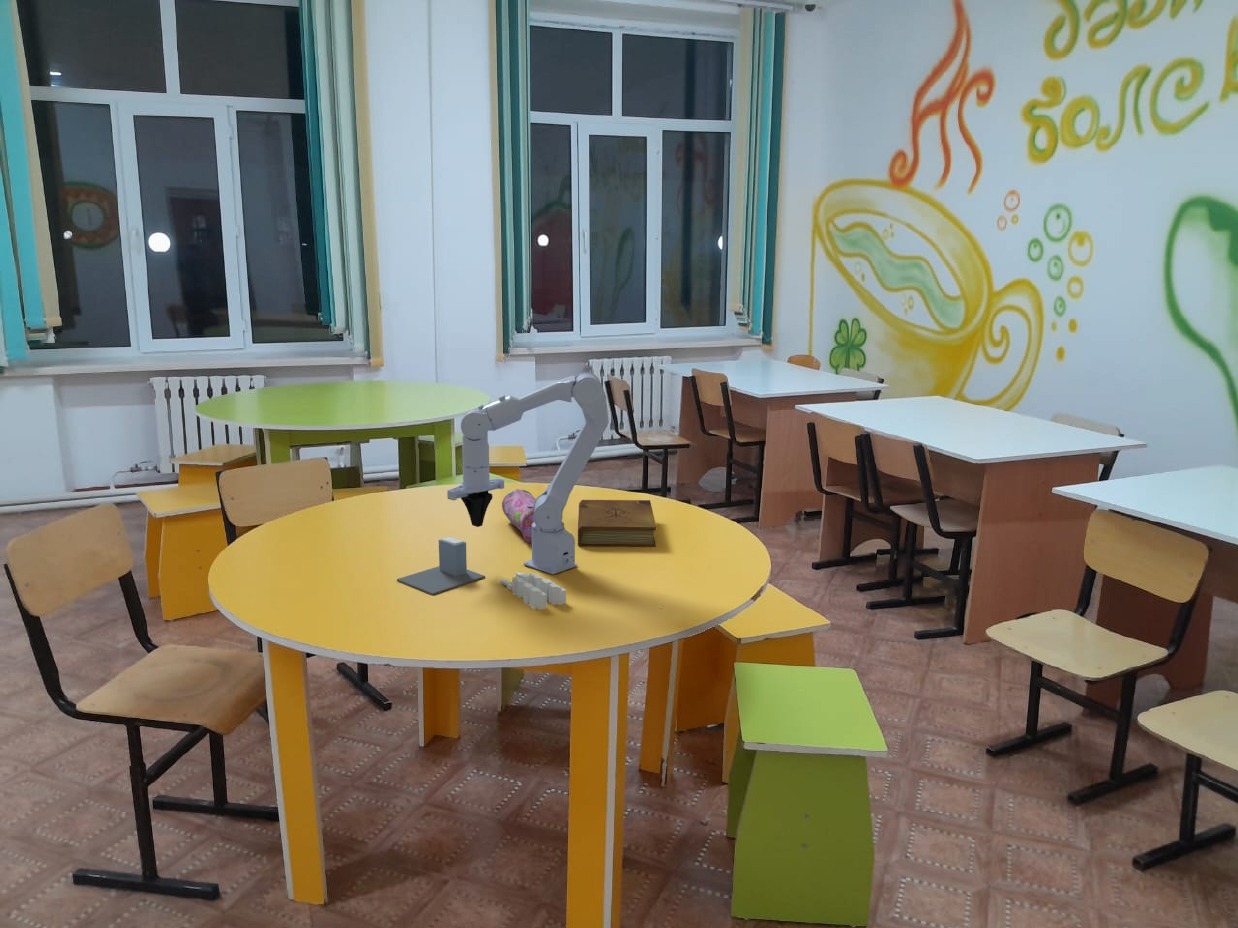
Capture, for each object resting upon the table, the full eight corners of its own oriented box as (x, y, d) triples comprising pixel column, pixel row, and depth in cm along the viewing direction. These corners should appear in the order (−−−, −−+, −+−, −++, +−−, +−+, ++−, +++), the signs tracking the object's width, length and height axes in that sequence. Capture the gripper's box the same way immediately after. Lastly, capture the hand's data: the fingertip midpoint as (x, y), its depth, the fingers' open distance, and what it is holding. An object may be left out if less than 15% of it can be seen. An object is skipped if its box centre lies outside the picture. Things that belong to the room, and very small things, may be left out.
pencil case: (557, 543, 218) (558, 507, 216) (521, 546, 215) (520, 510, 213) (535, 519, 237) (535, 485, 235) (501, 521, 234) (500, 488, 232)
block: (466, 573, 195) (466, 541, 193) (455, 576, 193) (455, 544, 191) (450, 567, 198) (449, 535, 197) (439, 570, 196) (438, 538, 195)
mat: (485, 577, 194) (485, 575, 193) (432, 595, 183) (432, 593, 183) (449, 564, 201) (449, 562, 201) (396, 580, 191) (396, 578, 191)
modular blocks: (566, 604, 180) (566, 586, 179) (536, 611, 176) (536, 592, 176) (517, 576, 196) (517, 558, 195) (488, 582, 192) (488, 564, 191)
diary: (578, 520, 238) (579, 499, 236) (649, 521, 238) (650, 500, 237) (577, 548, 215) (577, 525, 214) (655, 549, 216) (656, 526, 215)
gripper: (489, 457, 204) (489, 515, 207) (437, 467, 193) (439, 528, 196) (510, 462, 199) (511, 521, 202) (458, 473, 188) (460, 535, 191)
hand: (477, 525), depth 199 cm, fingers closed
